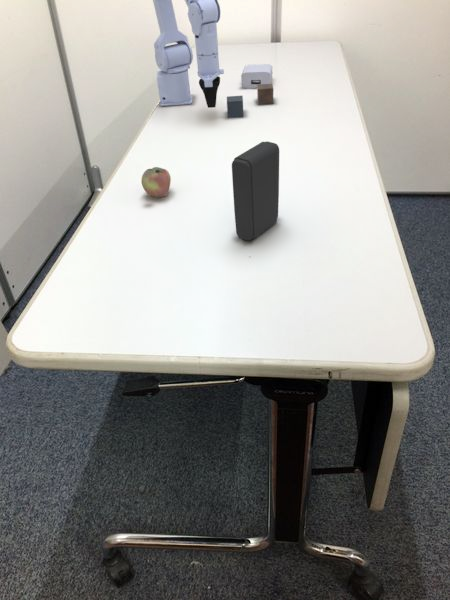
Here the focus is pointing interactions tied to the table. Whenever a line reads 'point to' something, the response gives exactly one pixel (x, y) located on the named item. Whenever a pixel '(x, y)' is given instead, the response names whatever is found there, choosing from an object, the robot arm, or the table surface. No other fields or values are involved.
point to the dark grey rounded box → (256, 189)
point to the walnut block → (265, 94)
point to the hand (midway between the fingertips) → (211, 106)
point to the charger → (256, 75)
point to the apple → (156, 182)
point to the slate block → (235, 106)
